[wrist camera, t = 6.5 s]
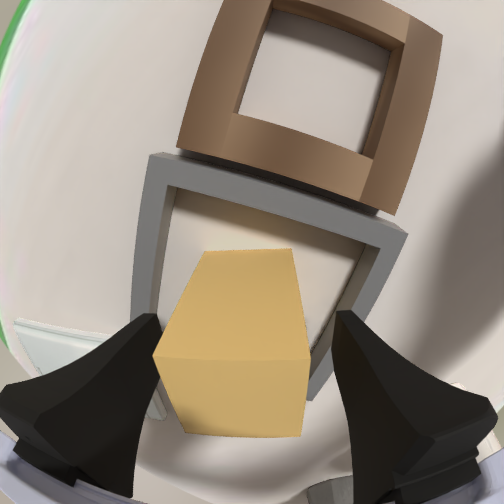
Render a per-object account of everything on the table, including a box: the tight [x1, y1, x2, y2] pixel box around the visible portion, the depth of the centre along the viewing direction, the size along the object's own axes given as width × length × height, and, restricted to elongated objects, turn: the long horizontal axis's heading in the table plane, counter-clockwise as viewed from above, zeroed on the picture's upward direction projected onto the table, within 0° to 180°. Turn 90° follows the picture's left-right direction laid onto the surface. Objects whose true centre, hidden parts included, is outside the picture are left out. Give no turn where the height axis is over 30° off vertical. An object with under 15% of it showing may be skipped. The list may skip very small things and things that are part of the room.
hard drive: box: [13, 318, 167, 421], centre depth 17 cm, size 2×8×12 cm
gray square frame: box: [130, 152, 408, 401], centre depth 13 cm, size 11×11×2 cm
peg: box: [153, 248, 311, 438], centre depth 10 cm, size 4×4×7 cm
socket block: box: [176, 0, 443, 216], centre depth 9 cm, size 9×9×2 cm
